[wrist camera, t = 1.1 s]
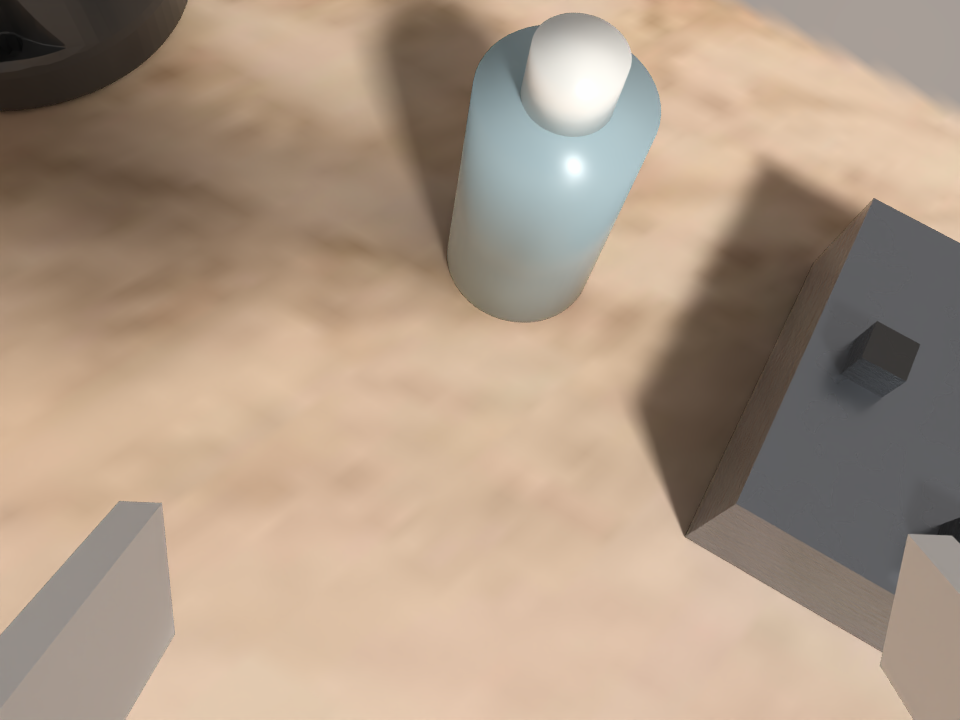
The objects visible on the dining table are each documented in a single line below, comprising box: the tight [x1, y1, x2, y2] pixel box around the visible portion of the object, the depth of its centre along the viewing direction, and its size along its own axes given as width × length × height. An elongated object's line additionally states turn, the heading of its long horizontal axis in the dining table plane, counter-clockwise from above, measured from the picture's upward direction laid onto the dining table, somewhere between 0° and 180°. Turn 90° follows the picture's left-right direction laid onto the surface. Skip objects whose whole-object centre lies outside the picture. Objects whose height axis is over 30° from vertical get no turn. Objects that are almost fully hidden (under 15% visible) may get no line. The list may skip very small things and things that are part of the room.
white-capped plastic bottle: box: [447, 13, 661, 322], centre depth 31 cm, size 6×6×12 cm
